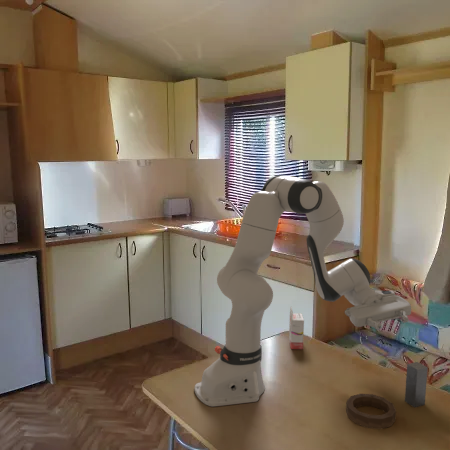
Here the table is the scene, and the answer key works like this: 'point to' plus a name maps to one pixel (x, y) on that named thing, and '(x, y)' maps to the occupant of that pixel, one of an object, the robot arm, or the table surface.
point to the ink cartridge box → (296, 330)
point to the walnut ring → (370, 420)
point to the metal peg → (416, 384)
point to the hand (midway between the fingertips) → (392, 323)
